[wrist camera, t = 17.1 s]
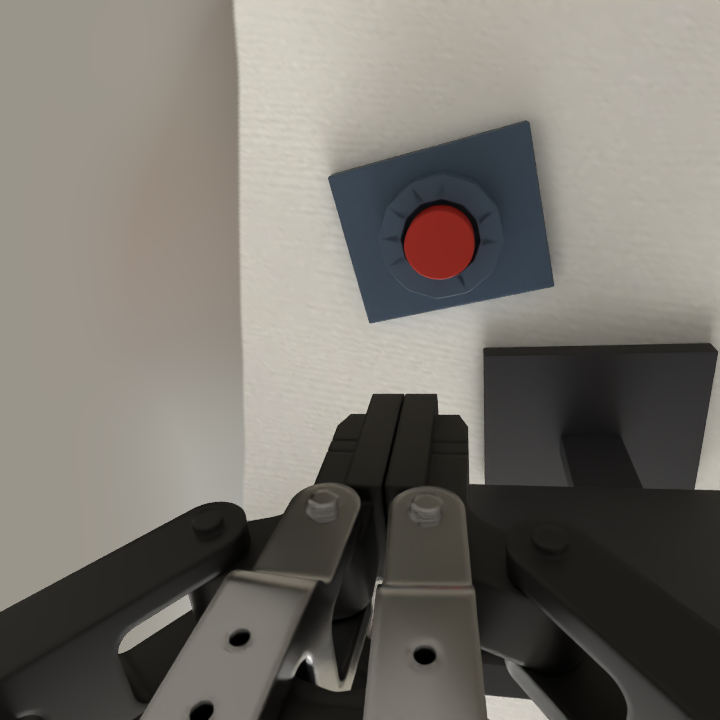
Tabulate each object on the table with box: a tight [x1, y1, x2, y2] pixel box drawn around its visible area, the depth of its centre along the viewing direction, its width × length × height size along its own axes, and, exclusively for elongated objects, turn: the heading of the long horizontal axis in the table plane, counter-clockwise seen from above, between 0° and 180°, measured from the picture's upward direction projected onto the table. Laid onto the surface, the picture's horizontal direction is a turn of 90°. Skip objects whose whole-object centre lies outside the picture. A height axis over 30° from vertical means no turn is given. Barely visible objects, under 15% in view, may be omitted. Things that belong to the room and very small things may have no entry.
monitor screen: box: [469, 484, 720, 700], centre depth 24 cm, size 3×16×13 cm, turn 96°
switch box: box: [328, 121, 554, 323], centre depth 32 cm, size 11×9×3 cm
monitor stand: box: [483, 343, 718, 490], centre depth 33 cm, size 10×13×8 cm
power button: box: [404, 205, 475, 280], centre depth 30 cm, size 4×4×2 cm
